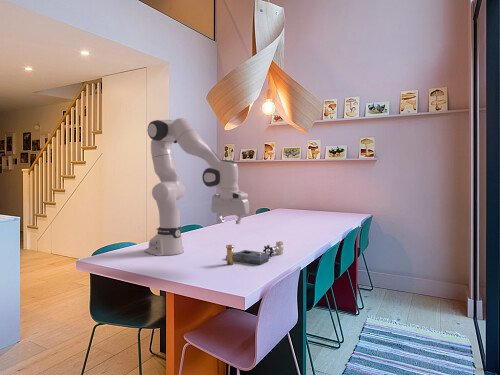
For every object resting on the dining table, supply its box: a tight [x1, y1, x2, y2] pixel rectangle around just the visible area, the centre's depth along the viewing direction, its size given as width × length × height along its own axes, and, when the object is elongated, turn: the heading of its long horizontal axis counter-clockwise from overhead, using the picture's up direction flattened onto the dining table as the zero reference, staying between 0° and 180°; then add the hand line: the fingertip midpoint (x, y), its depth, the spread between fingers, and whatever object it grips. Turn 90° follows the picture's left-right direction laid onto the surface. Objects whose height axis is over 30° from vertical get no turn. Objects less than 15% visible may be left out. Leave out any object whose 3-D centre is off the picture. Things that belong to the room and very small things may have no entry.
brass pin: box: [225, 244, 235, 266], centre depth 161 cm, size 4×4×9 cm
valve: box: [262, 241, 284, 259], centre depth 178 cm, size 7×7×12 cm
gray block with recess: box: [225, 249, 269, 266], centre depth 168 cm, size 20×8×5 cm, turn 57°
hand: (229, 223), depth 160 cm, fingers open, 8 cm apart
